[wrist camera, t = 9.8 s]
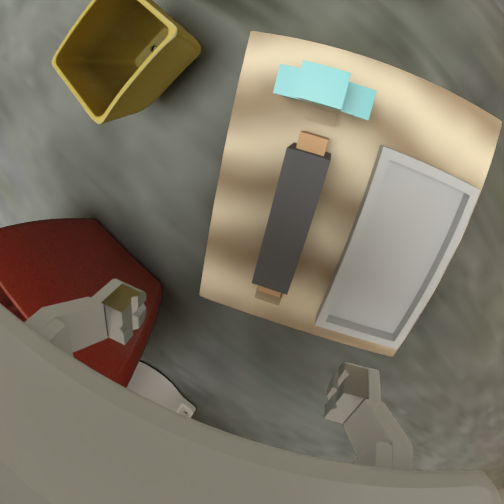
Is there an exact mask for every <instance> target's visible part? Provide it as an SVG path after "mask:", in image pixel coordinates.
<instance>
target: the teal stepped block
mask: <svg viewBox="0 0 504 504" xmlns="http://www.w3.org/2000/svg"><path fill="white" fill-rule="evenodd" d="M350 76H351V73H349V72H346V71H343V70H339V69H336V68H332V67H329V66H325V65H321V64H317V63H313V62H309V61H305V60H303V62H302V66H301V68H297V67H293V66H288V65H283V64H280V66H279V70H278V74H277V78H276V82H275V87H274V91H273V93H274V94H277V95H280V96H282V97H285V98H289V99H293V100H295V99H298V100H302V101H306V102H310V103H313V104H317V105H320V106H324V107H327V108H331V109H334V110H337V111H340V112H344V113H347V114H350V115H351V116H352V117H355V118H358V119H361V120H369V117H370V113H371V109H372V106H373V102H374V98H375V94H376V90H373V89H370V88H367V87H364V86H361V85H358V84H355V83H352V82H349V80H350Z"/></svg>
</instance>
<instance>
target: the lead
mask: <svg viewBox="0 0 504 504" xmlns="http://www.w3.org/2000/svg"><path fill="white" fill-rule="evenodd" d="M328 140H329V138H327V137H324V136H321V135H317V134H314V133H310V132H307V131H301V132H300V134H299V138H298V142H297V143H295V142H294V143H293V144H291V145H290V146H288V147H287V149H286V152H285V156H284V160H283V164H282V168H281V172H280V176H279V180H278V184H277V187H276V191H275V195H274V199H273V203H272V207H271V211H270V214H269V218H268V222H267V226H266V230H265V234H264V237H263V241H262V245H261V249H260V253H259V257H258V260H257V264H256V268H255V272H254V275H253V279H252V283H253V284H256V285H258V289H257V290H258V291H261V292H264V293H267V294H270V295H273V296H276V297H279V298H280V295H281V293H283V294H286V295H287V294H288V291H289V288H290V285H291V282H292V279H293V276H294V274H295V271H296V268H297V265H298V262H299V259H300V256H301V253H302V250H303V247H304V244H305V241H306V238H307V235H308V232H309V229H310V226H311V223H312V219H313V216H314V213H315V210H316V207H317V204H318V201H319V197H320V194H321V191H322V188H323V184H324V181H325V178H326V174H327V171H328V168H329V164H330V161H331V153H328V152H325V150H326V147H327V143H328Z"/></svg>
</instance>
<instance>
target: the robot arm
mask: <svg viewBox="0 0 504 504" xmlns="http://www.w3.org/2000/svg"><path fill="white" fill-rule="evenodd" d="M145 301H146V293H145V292H144V291H142V290H140V289H138V288H135V287H133V286H131V285H129V284H127V283H124V282H122V281H120V280H118V279H112V280H111V281H110V282H109V283H107V284H106V285H105V286H104V287H103V288H102V289H101V290H99V291H98V292H97V293H96V294H95V295H94V296H93V297H91V298H90V297H84V298H80V299H76V300H71V301H67V302H63V303H59V304H54V305H50V306H46V307H42V308H41V309H39V310H38V311H37V312H36V313H35V314H33V315H32V316H31V317H30V318H29V319H28V320H27V321H25V322H23V321H22V320H20V319H19V318H18V317H17V316H15V315H14V314H13V313H12V312H10V311H9V310H8V309H7V308H6V307H4V306H3V305H2V304H1V303H0V504H501V501H500V495H499V492H498V490H497V489H496V487H495V486H494V484H493V483H492V481H491V480H490V478H489V477H488V476H487V475H486V474H485V472H483V471H481V470H465V471H422V470H413V447H412V443H411V442H410V440H409V439H408V437H407V436H406V434H405V433H404V431H403V430H402V428H401V427H400V425H399V424H398V422H397V421H396V419H395V418H394V416H393V415H392V413H391V412H390V411H389V409H388V408H387V406H386V405H385V403H382V402H381V387H380V372H379V370H376V369H371V368H366V367H363V366H359V365H355V364H351V363H348V362H343V363H342V364H341V365H340V367H339V371H338V373H337V374H335V375H334V376H333V378H332V379H331V381H330V384H329V386H328V390H327V398H328V400H329V401H328V402H327V404H326V405H325V413H324V419H327V420H331V421H335V422H339V423H343V426H344V428H345V431H346V433H347V435H348V438H349V440H350V442H351V445H352V447H353V449H354V452H355V454H356V456H357V460H356V461H354V462H353V463H352V464H351V463H345V462H339V461H334V460H328V459H323V458H318V457H314V456H309V455H305V454H300V453H296V452H292V451H288V450H284V449H280V448H277V447H273V446H270V445H266V444H263V443H259V442H256V441H253V440H249V439H246V438H243V437H240V436H237V435H234V434H231V433H228V432H225V431H223V430H220V429H217V428H214V427H212V426H209V425H206V424H204V423H201V422H199V421H196V420H194V419H191V417H192V415H193V414H194V412H195V411H196V408H195V407H194V406H193V405H192V404H191V403H190V402H189V401H187V400H186V399H185V398H183V397H182V395H181V394H180V393H179V392H178V390H177V389H176V388H175V387H174V385H173V384H172V383H171V382H170V381H169V380H167V379H166V378H165V377H164V376H163V375H161V374H160V373H159V372H157V371H156V370H154V369H153V368H151V367H149V366H148V365H146V364H144V363H142V362H140V361H139V363H138V365H137V367H136V369H135V372H134V374H133V376H132V378H131V380H130V382H129V384H128V386H127V388H125V387H123V386H121V385H119V384H118V383H116V382H114V381H112V380H110V379H109V378H107V377H105V376H103V375H102V374H100V373H98V372H96V371H95V370H93V369H91V368H90V367H88V366H86V365H85V364H83V363H82V362H80V361H78V360H77V359H75V358H74V355H73V352H76V351H78V350H80V349H83V348H85V347H88V346H90V345H92V344H95V343H97V342H100V341H102V340H104V339H107V338H108V337H109V338H111V339H113V340H115V341H117V342H119V343H121V344H124V345H125V344H126V343H127V342H128V341H129V339H130V338H131V337H132V336H133V330H135V329H139V327H140V326H141V325H142V324H143V321H144V319H145V317H146V307H145V305H144V302H145Z"/></svg>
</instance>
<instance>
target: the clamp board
mask: <svg viewBox="0 0 504 504" xmlns="http://www.w3.org/2000/svg"><path fill="white" fill-rule="evenodd" d="M303 60H305V61H309V62H313V63H317V64H321V65H325V66H329V67H332V68H336V69H339V70H343V71H346V72H349V73H351V76H350V80H349V82H352V83H355V84H358V85H361V86H364V87H367V88H370V89H373V90H376V94H375V98H374V102H373V106H372V109H371V113H370V117H369V120H361V119H358V118H355V117H352V116H351V115H350V114H347V113H344V112H340V111H337V110H334V109H331V108H327V107H324V106H320V105H317V104H313V103H310V102H306V101H302V100H298V99H295V100H293V99H289V98H285V97H282V96H280V95H277V94H274V93H273V91H274V87H275V82H276V78H277V74H278V70H279V66H280V64H283V65H288V66H293V67H297V68H301V66H302V62H303ZM501 125H502V121H500V120H499V119H497V118H495V117H494V116H492V115H491V114H489V113H487V112H486V111H484V110H482V109H481V108H479V107H477V106H476V105H474V104H472V103H470V102H468V101H467V100H465V99H463V98H461V97H459V96H457V95H455V94H454V93H452V92H450V91H448V90H446V89H444V88H442V87H440V86H437V85H435V84H433V83H431V82H429V81H427V80H424V79H422V78H420V77H418V76H415V75H413V74H411V73H408V72H406V71H403V70H401V69H398V68H396V67H393V66H390V65H388V64H385V63H382V62H379V61H377V60H374V59H371V58H368V57H365V56H362V55H359V54H355V53H352V52H349V51H345V50H342V49H338V48H335V47H331V46H327V45H323V44H319V43H315V42H310V41H306V40H301V39H297V38H292V37H286V36H281V35H275V34H269V33H262V32H255V31H251V33H250V37H249V41H248V45H247V49H246V53H245V57H244V61H243V66H242V70H241V74H240V78H239V83H238V87H237V92H236V96H235V101H234V105H233V110H232V114H231V119H230V124H229V129H228V133H227V138H226V143H225V148H224V153H223V158H222V163H221V169H220V174H219V179H218V184H217V190H216V195H215V201H214V207H213V212H212V218H211V224H210V230H209V236H208V242H207V248H206V254H205V261H204V267H203V274H202V280H201V287H200V294H199V296H201V297H204V298H207V299H210V300H212V301H215V302H218V303H221V304H223V305H226V306H229V307H232V308H235V309H237V310H240V311H243V312H246V313H249V314H252V315H255V316H258V317H261V318H264V319H267V320H270V321H273V322H276V323H279V324H282V325H285V326H288V327H291V328H294V329H297V330H300V331H304V332H307V333H310V334H313V335H317V336H320V337H323V338H326V339H330V340H333V341H337V342H340V343H343V344H347V345H350V346H354V347H357V348H361V349H364V350H368V351H372V352H375V353H379V354H383V355H386V356H390V357H393V355H394V354H395V352H396V351H397V349H394V348H391V347H387V346H383V345H380V344H376V343H373V342H369V341H366V340H362V339H359V338H355V337H352V336H349V335H345V334H342V333H338V332H335V331H332V330H329V329H325V328H322V327H319V326H316V325H315V319H316V314H317V312H318V310H319V307H320V305H321V303H322V300H323V298H324V296H325V294H326V291H327V289H328V287H329V284H330V282H331V279H332V277H333V275H334V272H335V270H336V267H337V265H338V262H339V260H340V257H341V255H342V252H343V250H344V247H345V245H346V242H347V239H348V237H349V234H350V232H351V229H352V226H353V224H354V221H355V218H356V215H357V213H358V210H359V207H360V204H361V202H362V199H363V196H364V193H365V190H366V187H367V184H368V181H369V178H370V175H371V172H372V169H373V166H374V163H375V160H376V157H377V153H378V150H379V147H380V144H381V145H384V146H386V147H389V148H391V149H394V150H397V151H399V152H402V153H404V154H406V155H409V156H411V157H414V158H416V159H418V160H421V161H423V162H425V163H427V164H430V165H432V166H434V167H436V168H438V169H441V170H443V171H445V172H447V173H449V174H451V175H453V176H455V177H457V178H459V179H461V180H463V181H465V182H467V183H469V184H471V185H473V186H475V187H476V188H478V189H479V190H482V187H483V184H484V181H485V179H486V176H487V173H488V170H489V167H490V164H491V161H492V157H493V154H494V151H495V147H496V144H497V140H498V137H499V133H500V129H501ZM301 131H307V132H310V133H314V134H317V135H321V136H324V137H327V138H329V140H328V143H327V147H326V150H325V152H328V153H331V161H330V164H329V168H328V171H327V174H326V178H325V181H324V184H323V188H322V191H321V194H320V197H319V201H318V204H317V207H316V210H315V213H314V216H313V219H312V223H311V226H310V229H309V232H308V235H307V238H306V241H305V244H304V247H303V250H302V253H301V256H300V259H299V262H298V265H297V268H296V271H295V274H294V276H293V279H292V282H291V285H290V288H289V291H288V294H287V295H286V294H283V293H281V295H280V298H279V297H276V296H273V295H270V294H267V293H264V292H261V291H258V290H257V289H258V285H256V284H253V283H252V279H253V275H254V272H255V268H256V264H257V260H258V257H259V253H260V249H261V245H262V241H263V237H264V234H265V230H266V226H267V222H268V218H269V214H270V211H271V207H272V203H273V199H274V195H275V191H276V187H277V184H278V180H279V176H280V172H281V168H282V164H283V160H284V156H285V152H286V149H287V147H288V146H290V145H291V144H293V143H294V142H295V143H297V142H298V138H299V134H300V132H301ZM480 192H481V191H480ZM479 195H480V193H479ZM478 198H479V196H478ZM477 200H478V199H477ZM476 203H477V201H476ZM475 205H476V204H475ZM474 208H475V206H474ZM473 210H474V209H473ZM472 213H473V211H472ZM471 215H472V214H471ZM470 218H471V216H470ZM470 218H469V220H470ZM468 222H469V221H468ZM467 225H468V223H467ZM467 225H466V227H467ZM465 229H466V228H465ZM464 231H465V230H464ZM463 234H464V232H463ZM463 234H462V236H463ZM462 236H461V238H462ZM460 240H461V239H460ZM459 242H460V241H459ZM458 244H459V243H458ZM457 246H458V245H457ZM456 249H457V247H456ZM456 249H455V251H456ZM455 251H454V253H455ZM454 253H453V255H454ZM453 255H452V257H453ZM452 257H451V259H452ZM451 259H450V261H451ZM450 261H449V263H450ZM449 263H448V265H449ZM448 265H447V267H448ZM447 267H446V268H447ZM445 270H446V269H445ZM444 272H445V271H444ZM443 274H444V273H443ZM442 276H443V275H442ZM441 278H442V277H441ZM440 280H441V279H440ZM440 280H439V282H440ZM439 282H438V283H439ZM437 285H438V284H437ZM436 287H437V286H436ZM435 289H436V288H435ZM435 289H434V291H435ZM434 291H433V292H434ZM432 294H433V293H432ZM431 296H432V295H431ZM431 296H430V298H431ZM430 298H429V299H430ZM428 301H429V300H428ZM427 303H428V302H427ZM427 303H426V304H427ZM425 306H426V305H425ZM424 308H425V307H424ZM424 308H423V309H424ZM422 311H423V310H422ZM421 313H422V312H421ZM421 313H420V314H421ZM419 316H420V315H419ZM418 318H419V317H418ZM418 318H417V319H418ZM416 321H417V320H416ZM416 321H415V322H416ZM414 324H415V323H414ZM414 324H413V325H414ZM412 327H413V326H412ZM411 329H412V328H411ZM411 329H410V330H411ZM409 332H410V331H409ZM409 332H408V333H409ZM407 335H408V334H407ZM407 335H406V336H407ZM405 338H406V337H405ZM405 338H404V339H405ZM403 341H404V340H403ZM403 341H402V342H403ZM401 344H402V343H401ZM401 344H400V345H401ZM399 347H400V346H399ZM399 347H398V348H399Z"/></svg>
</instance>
